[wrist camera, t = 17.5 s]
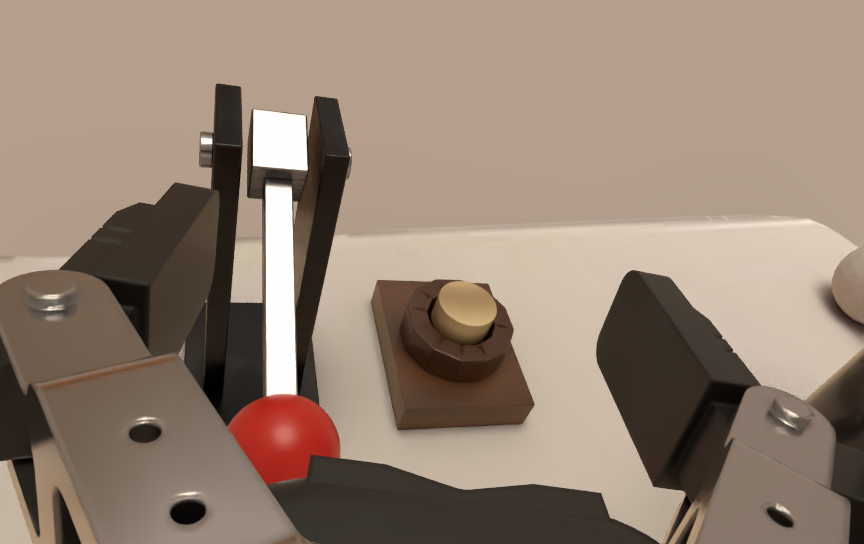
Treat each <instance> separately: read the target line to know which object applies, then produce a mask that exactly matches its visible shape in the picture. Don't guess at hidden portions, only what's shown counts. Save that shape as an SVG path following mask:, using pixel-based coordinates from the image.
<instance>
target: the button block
mask: <svg viewBox="0 0 864 544" xmlns="http://www.w3.org/2000/svg"><path fill="white" fill-rule="evenodd" d="M455 281H461V280H438V279H437V280H434V281H432V282H421V281H391V280H377V283H376V286H375V290H374V293H373V297H372V300H371V301H372V306H373V311H374V316H375V321H376V326H377V330H378V335H379V340H380V345H381V350H382V355H383V360H384V365H385V370H386V374H387V379H388V384H389V389H390V394H391V399H392V404H393V409H394V413H395V418H396V423H397V428H398V429H414V428H435V427H455V426H475V425H495V424H516V423H523V422H524V421H525V419H526V417H527V416H528V414H529V413H530V411H531V410H532V408H533V407H534V405H535V404H534V402H533V399H532V396H531V394H530V391H529V389H528V386H527V383H526V381H525V378H524V376H523V373H522V370H521V368H520V365H519V362H518V360H517V357H516V355H515V352H514V349H513V347H512V344H511V338H512V335H513V331H514V330H513V326H512V324H511V321H510V319H509V316H508V313H507V311H506V309H505V307H504V306H503V305H502V304H501V303H499V302H498V301H497V300H496V299H495V298H494V297H493V295H492V292H491V290H490V287H489V284H482V283H473V284H475V285H478V286H479V287H481V288H483V289H484V290H486V291H487V292H488V293H489V294H490V295H491V296H492V298H493V299H494V301H495V303H496V306H497V314H496V317H495V319H494V321H493V323H492V325H491V327H490V329H489V331H488V333H487V335H486V337H485V338H484V339H483V340H482V341H480V342H479V343H476V344H472V345H461V344H458V343H455V342H453V341H451V340H448V339H446V338H444V337H443V336H442V335H441V334H440V333H439V332H438V331H437V330H436V329H435V328H434V326H433V323H432V320H431V313H432V310H433V307H434V305H435V302H436V300H437V297H438V295H439V292H440V290H441V289H442V287H443V286H445V285H446V284H448V283H450V282H455Z"/></svg>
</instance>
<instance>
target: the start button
mask: <svg viewBox="0 0 864 544" xmlns="http://www.w3.org/2000/svg"><path fill="white" fill-rule="evenodd" d="M496 314H497V306H496V303H495V301H494V299H493V298H492V296H491V295H490V294H489V293H488V292H487V291H486V290H484V289H483V288H481V287H479V286H478V285H475V284H473V283H469V282H465V281H455V282H450V283H448V284H446V285H445V286H443V287H442V289H441V290H440V292H439V295H438V297H437V300H436V302H435V305H434V307H433V310H432V313H431V320H432V323H433V326H434V328H435V329H436V330H437V331H438V332H439V333H440V334H441V335H442V336H443V337H444V338H446V339H448V340H451V341H453V342H455V343H458V344H461V345H472V344H476V343H479V342H480V341H482V340H483V339H484V338H485V337H486V335H487V333H488V331H489V329H490V327H491V325H492V323H493V321H494V319H495V317H496Z"/></svg>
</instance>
